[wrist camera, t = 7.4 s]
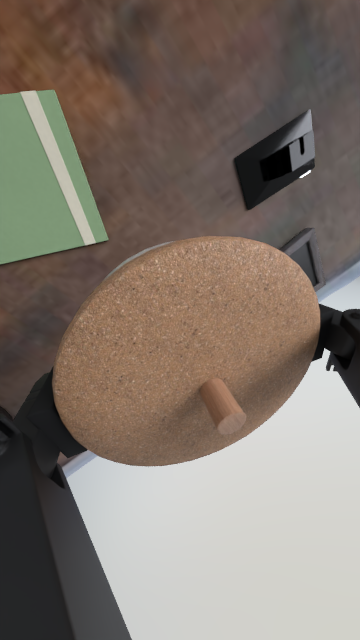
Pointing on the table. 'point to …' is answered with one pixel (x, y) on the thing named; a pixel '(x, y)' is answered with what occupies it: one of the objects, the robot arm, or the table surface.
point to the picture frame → (307, 256)
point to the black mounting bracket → (277, 160)
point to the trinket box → (185, 350)
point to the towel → (41, 181)
